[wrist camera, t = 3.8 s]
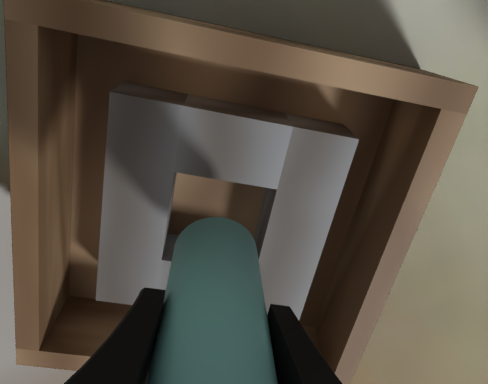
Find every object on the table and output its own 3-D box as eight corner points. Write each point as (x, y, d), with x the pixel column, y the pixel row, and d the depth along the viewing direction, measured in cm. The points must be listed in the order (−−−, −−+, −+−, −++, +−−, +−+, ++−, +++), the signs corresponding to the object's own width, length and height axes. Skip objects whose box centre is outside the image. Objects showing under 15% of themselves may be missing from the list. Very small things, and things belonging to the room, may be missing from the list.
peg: (262, 221, 15) (313, 470, 7) (251, 290, 16) (281, 571, 8) (176, 213, 15) (119, 464, 6) (171, 284, 16) (118, 572, 8)
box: (421, 69, 18) (478, 86, 14) (323, 334, 25) (343, 398, 21) (58, -10, 16) (3, -17, 12) (53, 300, 23) (16, 364, 19)
